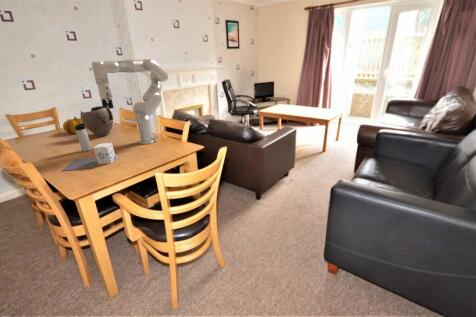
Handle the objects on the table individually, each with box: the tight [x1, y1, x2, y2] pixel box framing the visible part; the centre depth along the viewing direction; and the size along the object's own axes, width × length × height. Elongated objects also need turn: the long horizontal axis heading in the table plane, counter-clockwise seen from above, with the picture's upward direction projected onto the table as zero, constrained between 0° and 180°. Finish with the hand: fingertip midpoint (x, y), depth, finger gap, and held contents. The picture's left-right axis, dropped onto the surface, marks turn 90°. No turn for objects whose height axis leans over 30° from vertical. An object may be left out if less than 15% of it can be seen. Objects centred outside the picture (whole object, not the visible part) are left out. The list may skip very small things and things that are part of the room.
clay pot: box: [79, 105, 114, 137], centre depth 211 cm, size 24×24×25 cm
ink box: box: [93, 142, 117, 165], centre depth 156 cm, size 8×8×12 cm
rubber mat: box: [61, 156, 98, 172], centre depth 156 cm, size 18×18×1 cm
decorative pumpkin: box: [62, 116, 89, 135], centre depth 226 cm, size 20×22×15 cm
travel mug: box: [75, 124, 93, 153], centre depth 176 cm, size 6×7×20 cm
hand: (108, 107), depth 165 cm, fingers open, 9 cm apart
